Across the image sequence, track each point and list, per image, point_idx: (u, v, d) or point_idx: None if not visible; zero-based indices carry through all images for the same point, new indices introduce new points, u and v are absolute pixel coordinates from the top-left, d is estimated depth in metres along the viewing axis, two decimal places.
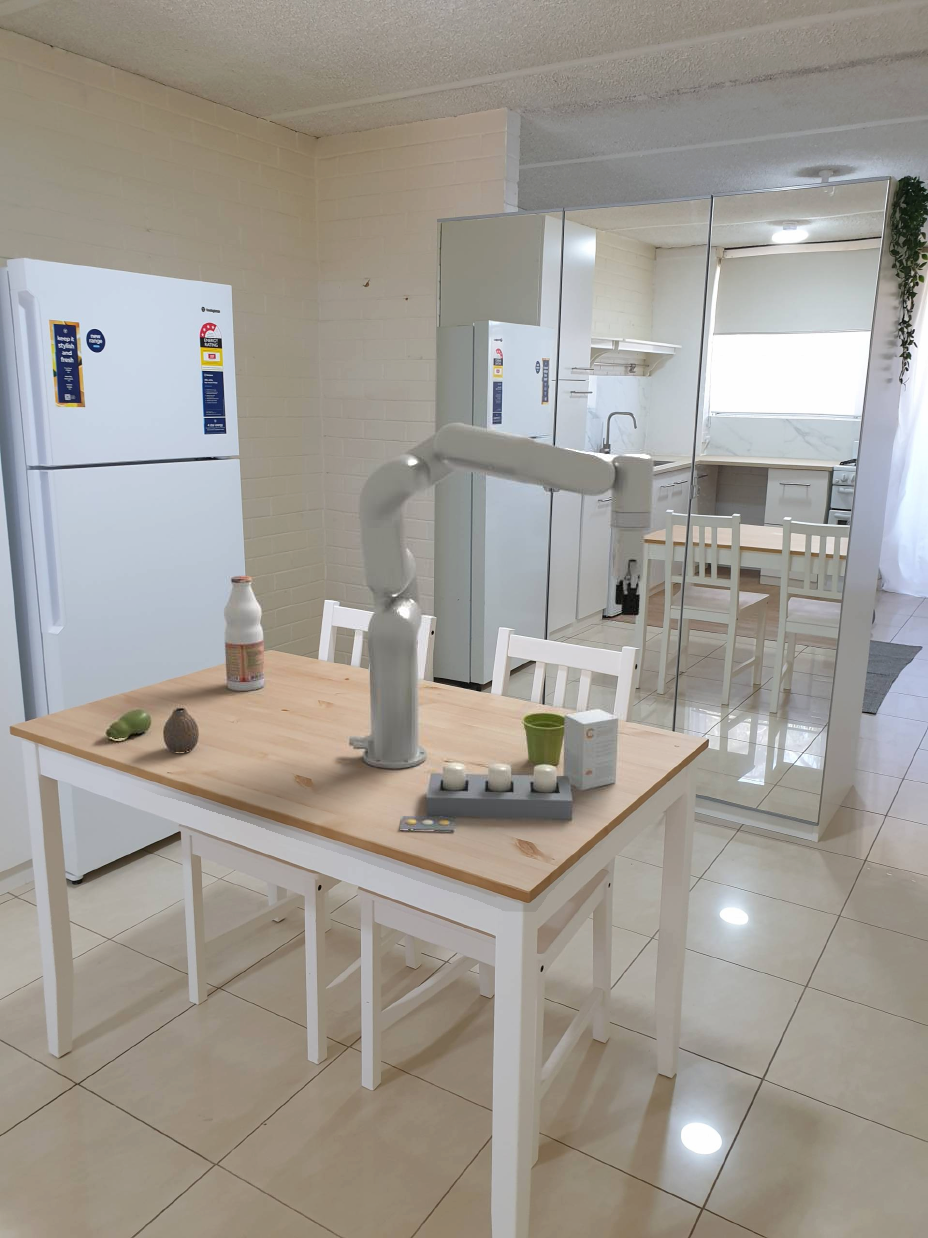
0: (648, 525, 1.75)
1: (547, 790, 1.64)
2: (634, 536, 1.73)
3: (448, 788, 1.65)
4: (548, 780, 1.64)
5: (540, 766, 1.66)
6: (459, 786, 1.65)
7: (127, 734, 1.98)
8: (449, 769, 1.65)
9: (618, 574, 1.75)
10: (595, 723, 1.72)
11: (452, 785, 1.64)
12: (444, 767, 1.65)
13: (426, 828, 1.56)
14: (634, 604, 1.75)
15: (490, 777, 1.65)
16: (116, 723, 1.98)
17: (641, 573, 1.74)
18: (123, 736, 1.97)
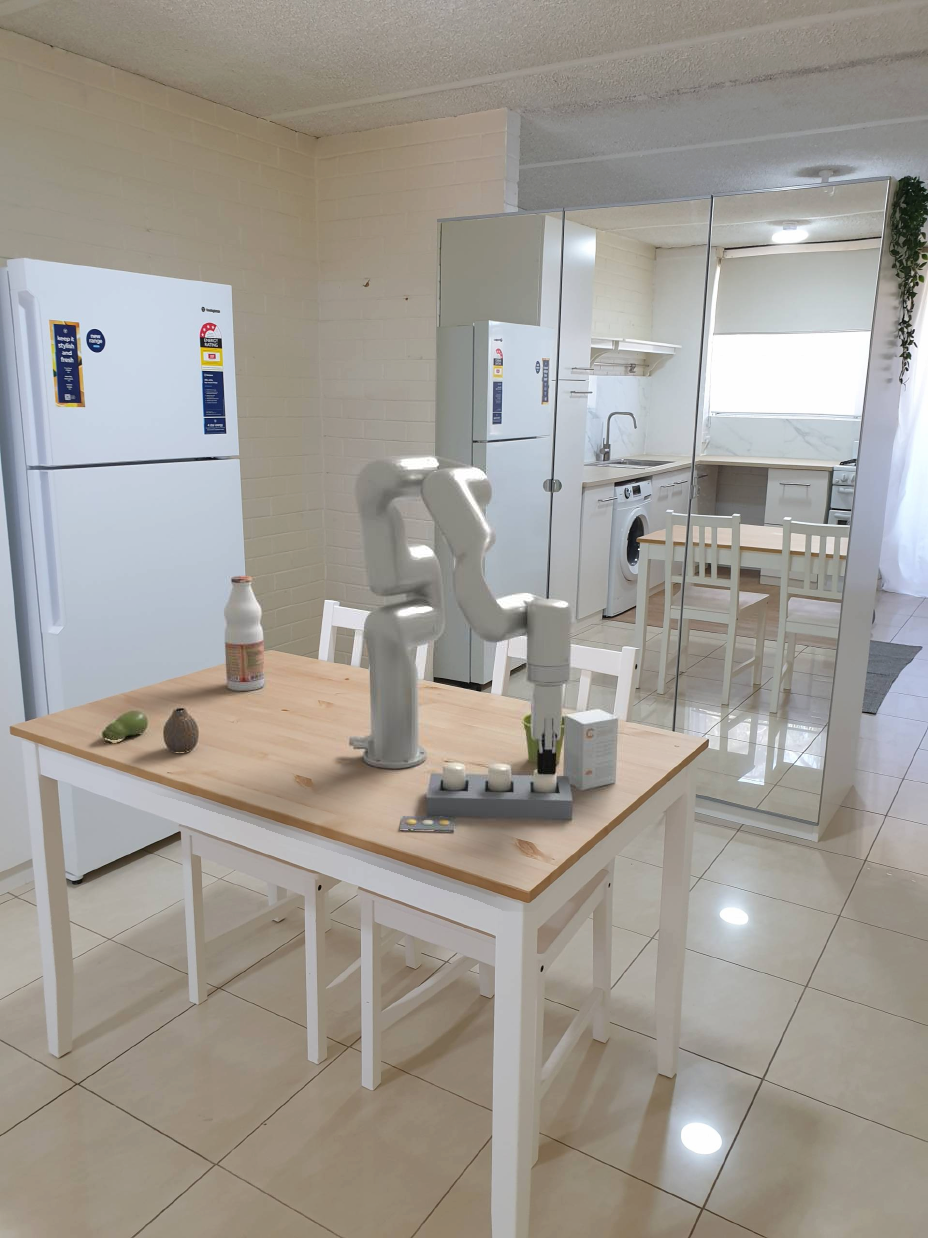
0: (566, 678, 1.59)
1: None
2: (550, 692, 1.57)
3: (448, 788, 1.65)
4: (548, 783, 1.64)
5: None
6: (459, 786, 1.65)
7: (123, 735, 1.97)
8: (449, 769, 1.65)
9: (534, 733, 1.59)
10: (595, 723, 1.72)
11: (452, 785, 1.64)
12: (444, 767, 1.65)
13: (426, 828, 1.56)
14: (550, 764, 1.63)
15: (490, 777, 1.65)
16: (112, 724, 1.97)
17: (559, 732, 1.58)
18: (119, 737, 1.96)
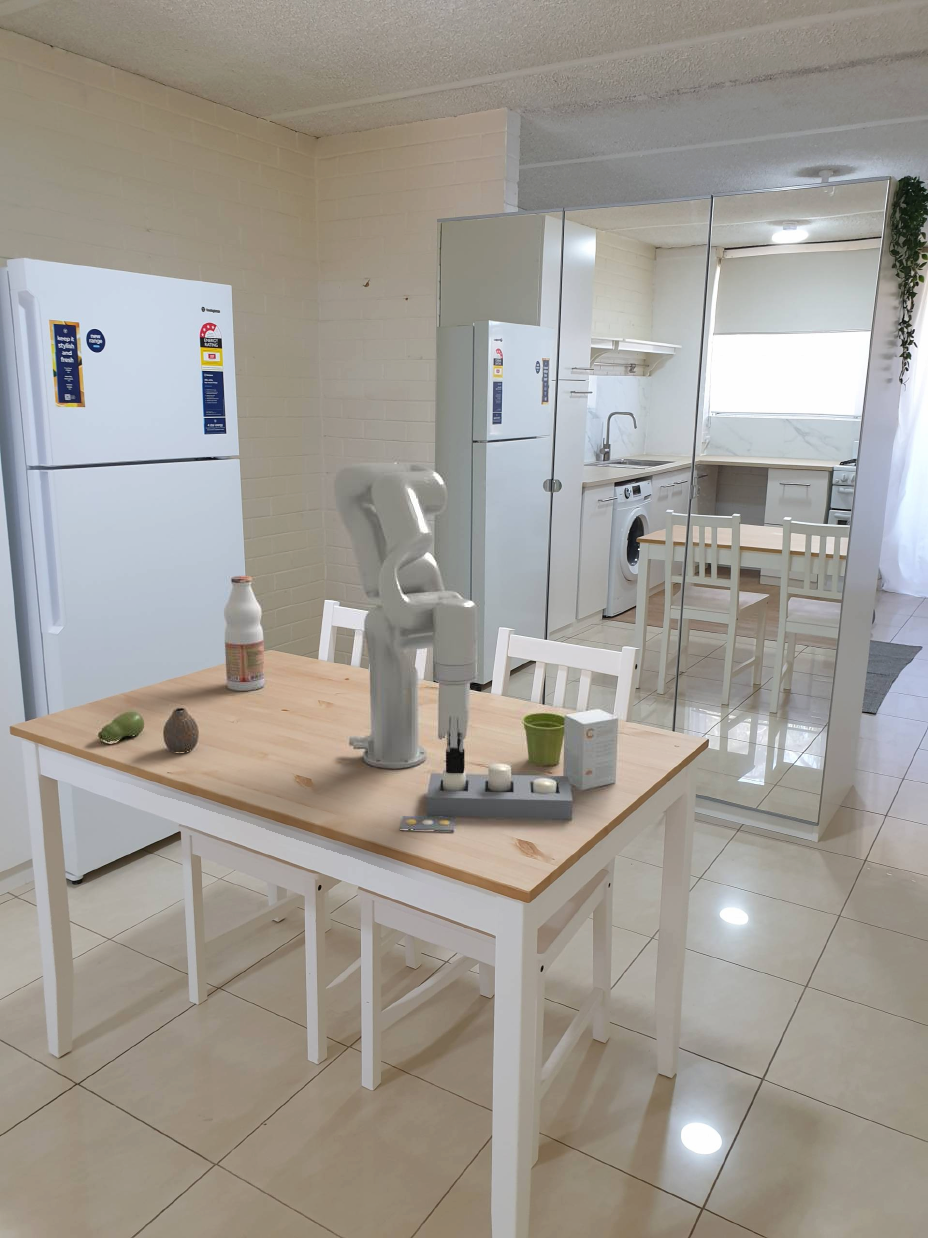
0: (472, 677, 1.60)
1: None
2: (454, 691, 1.58)
3: None
4: None
5: (540, 780, 1.67)
6: (459, 790, 1.65)
7: (119, 737, 1.96)
8: (449, 773, 1.65)
9: (439, 732, 1.59)
10: (595, 723, 1.72)
11: (452, 790, 1.65)
12: (444, 771, 1.66)
13: (426, 828, 1.56)
14: (458, 762, 1.64)
15: (490, 777, 1.65)
16: (108, 726, 1.96)
17: (464, 731, 1.59)
18: (115, 739, 1.96)
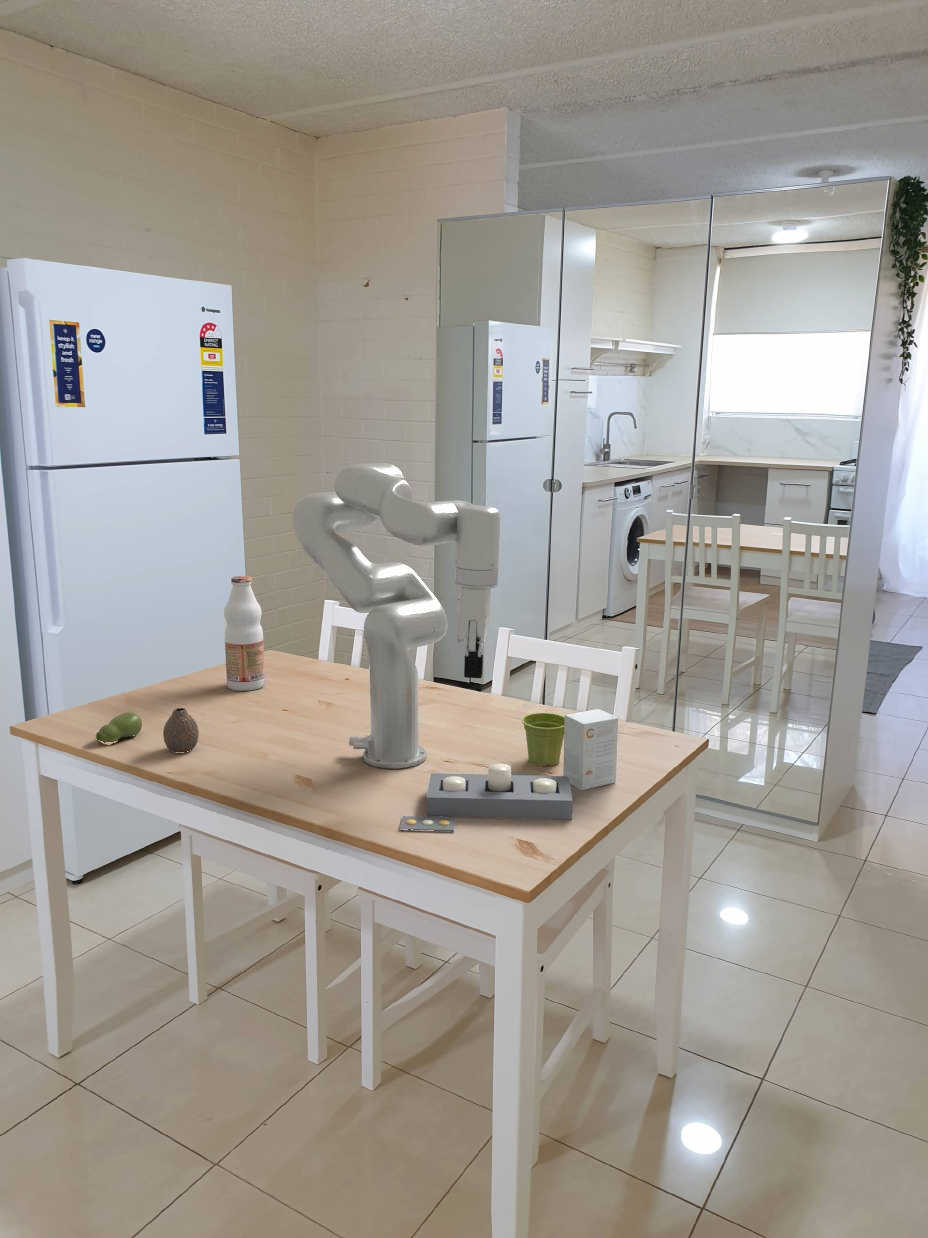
0: (493, 583, 1.63)
1: None
2: (474, 595, 1.61)
3: None
4: None
5: (540, 780, 1.67)
6: None
7: (117, 737, 1.96)
8: (449, 783, 1.65)
9: (458, 635, 1.63)
10: (595, 723, 1.72)
11: None
12: (444, 781, 1.66)
13: (426, 828, 1.56)
14: (476, 667, 1.68)
15: (490, 777, 1.65)
16: (106, 726, 1.95)
17: (482, 635, 1.63)
18: (113, 739, 1.95)
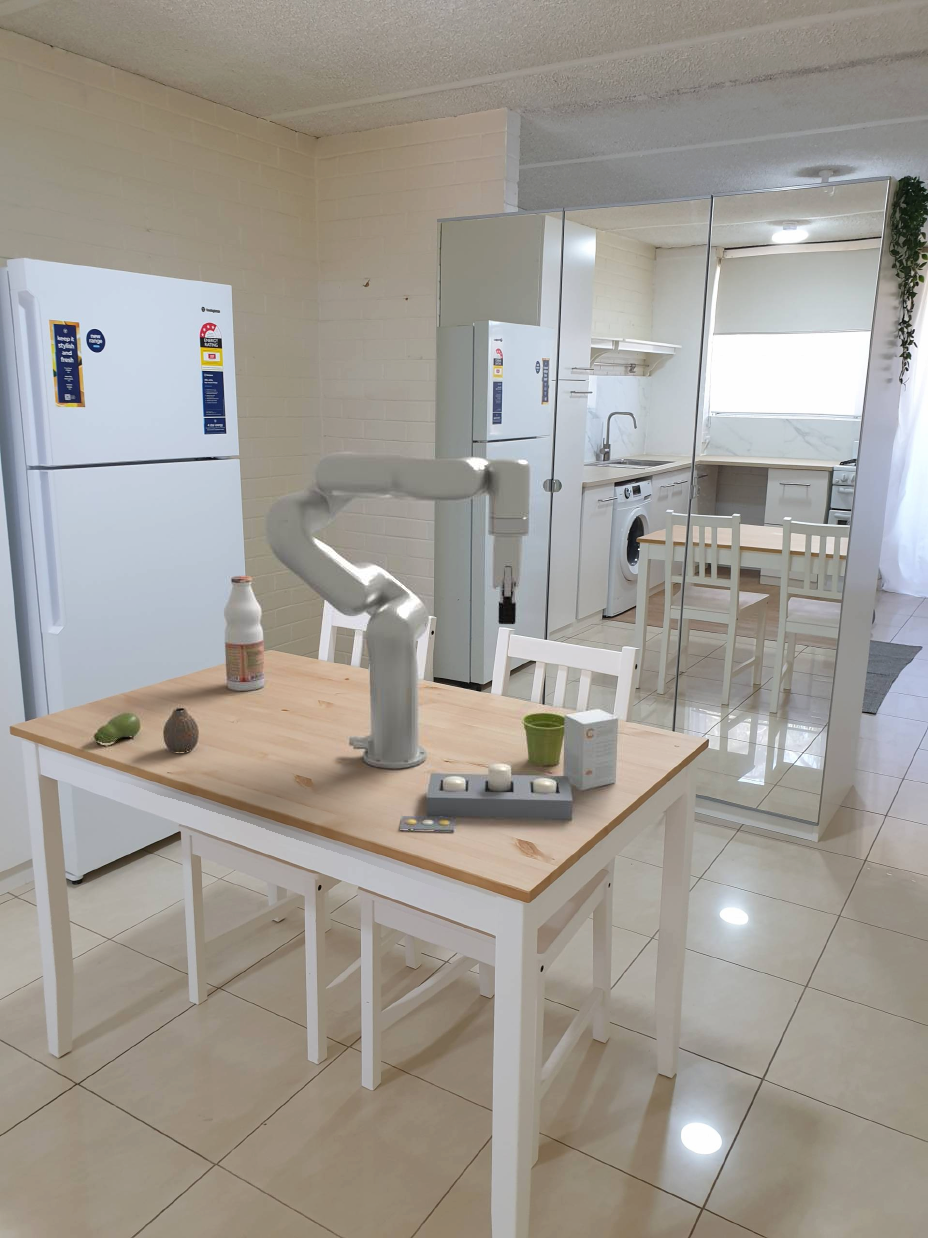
0: (525, 531, 1.72)
1: None
2: (509, 542, 1.70)
3: None
4: None
5: (540, 780, 1.67)
6: None
7: (115, 738, 1.95)
8: (449, 783, 1.65)
9: (494, 581, 1.72)
10: (595, 723, 1.72)
11: None
12: (444, 781, 1.66)
13: (426, 828, 1.56)
14: (510, 613, 1.76)
15: (490, 777, 1.65)
16: (104, 727, 1.95)
17: (517, 580, 1.71)
18: (111, 740, 1.95)
